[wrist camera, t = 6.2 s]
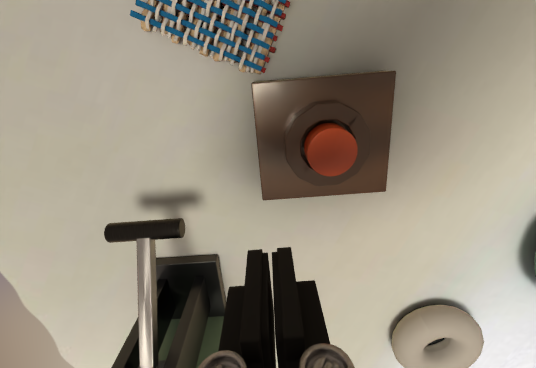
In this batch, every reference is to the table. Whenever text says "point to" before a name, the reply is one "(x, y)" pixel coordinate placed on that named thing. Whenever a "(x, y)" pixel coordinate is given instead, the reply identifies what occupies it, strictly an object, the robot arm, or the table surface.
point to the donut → (436, 327)
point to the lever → (146, 276)
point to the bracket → (181, 309)
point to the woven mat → (219, 27)
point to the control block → (313, 114)
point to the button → (330, 149)
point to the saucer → (535, 263)
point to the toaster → (208, 343)
